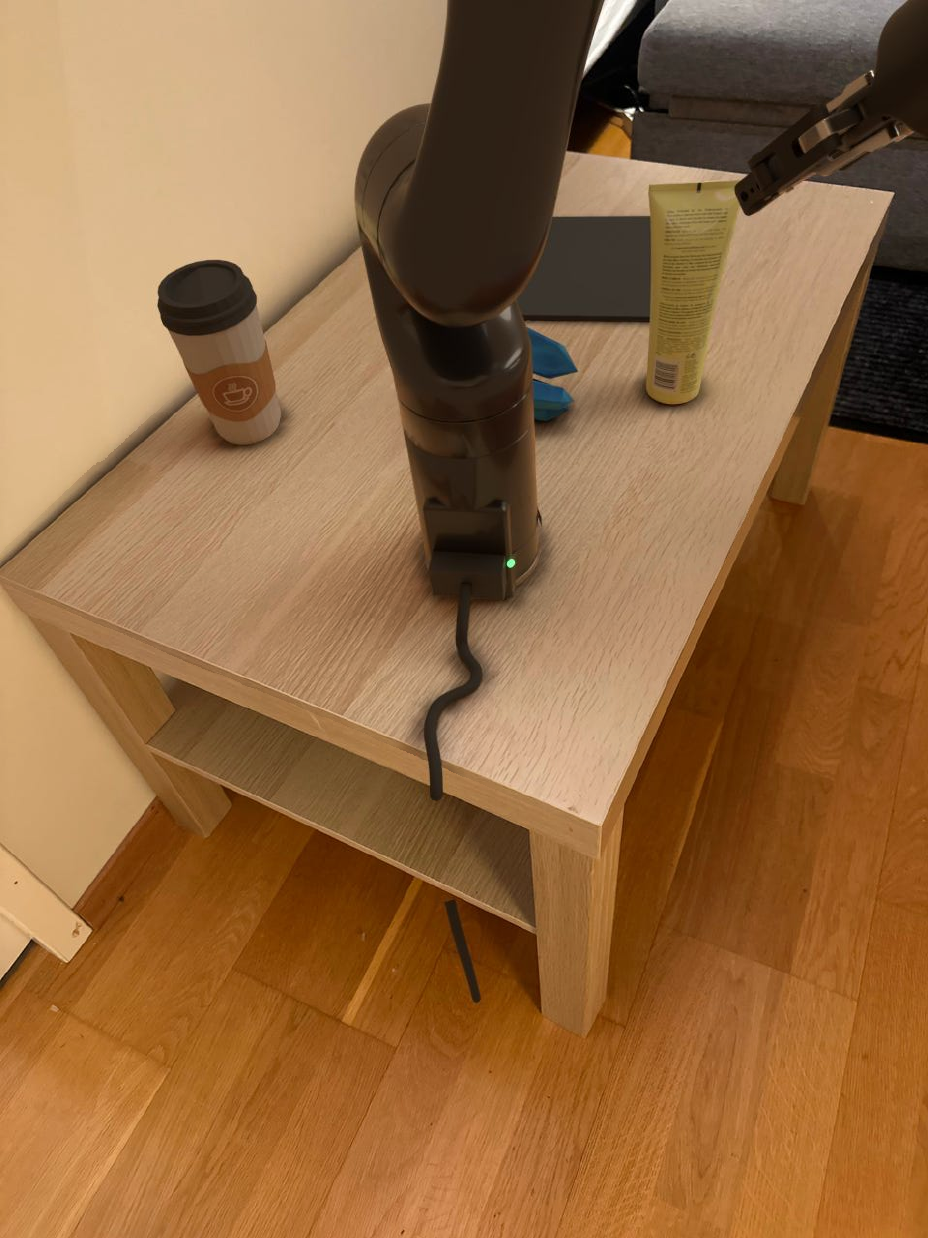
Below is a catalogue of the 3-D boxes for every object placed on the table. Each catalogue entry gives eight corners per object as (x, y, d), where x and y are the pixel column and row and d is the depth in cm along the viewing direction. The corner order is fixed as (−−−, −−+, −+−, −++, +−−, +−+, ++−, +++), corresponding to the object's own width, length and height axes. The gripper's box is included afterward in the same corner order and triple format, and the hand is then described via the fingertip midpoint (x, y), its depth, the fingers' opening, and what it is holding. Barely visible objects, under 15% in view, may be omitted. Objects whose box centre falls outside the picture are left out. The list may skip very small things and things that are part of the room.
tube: (675, 364, 86) (698, 157, 71) (716, 386, 84) (749, 176, 68) (633, 390, 84) (648, 183, 69) (674, 414, 82) (698, 204, 66)
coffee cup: (211, 462, 83) (153, 320, 72) (203, 409, 89) (148, 269, 77) (298, 440, 84) (255, 297, 72) (286, 389, 89) (244, 247, 78)
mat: (656, 321, 91) (656, 316, 90) (444, 318, 95) (443, 313, 94) (661, 220, 103) (661, 215, 102) (472, 221, 107) (472, 216, 106)
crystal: (573, 383, 75) (446, 329, 77) (552, 455, 82) (437, 403, 84) (605, 334, 79) (483, 283, 81) (582, 406, 86) (471, 358, 88)
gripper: (1065, -93, 46) (842, 91, 61) (870, -12, 42) (684, 162, 58) (1119, 47, 47) (887, 193, 62) (933, 138, 43) (734, 270, 59)
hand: (790, 178), depth 60 cm, fingers open, 8 cm apart
